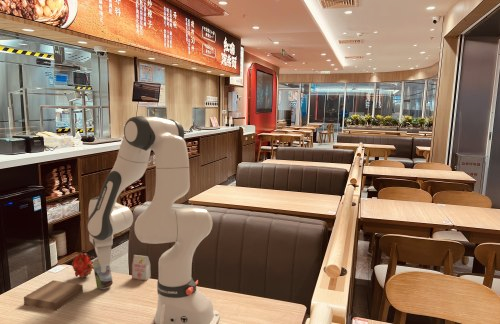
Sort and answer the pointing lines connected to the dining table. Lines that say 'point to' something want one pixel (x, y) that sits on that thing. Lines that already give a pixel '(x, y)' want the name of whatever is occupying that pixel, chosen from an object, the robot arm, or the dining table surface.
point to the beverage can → (102, 276)
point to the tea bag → (141, 268)
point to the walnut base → (53, 295)
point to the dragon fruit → (82, 264)
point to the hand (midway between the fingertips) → (102, 268)
